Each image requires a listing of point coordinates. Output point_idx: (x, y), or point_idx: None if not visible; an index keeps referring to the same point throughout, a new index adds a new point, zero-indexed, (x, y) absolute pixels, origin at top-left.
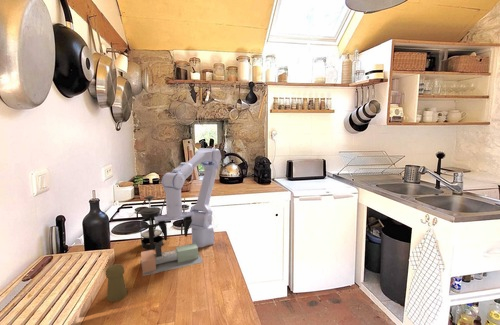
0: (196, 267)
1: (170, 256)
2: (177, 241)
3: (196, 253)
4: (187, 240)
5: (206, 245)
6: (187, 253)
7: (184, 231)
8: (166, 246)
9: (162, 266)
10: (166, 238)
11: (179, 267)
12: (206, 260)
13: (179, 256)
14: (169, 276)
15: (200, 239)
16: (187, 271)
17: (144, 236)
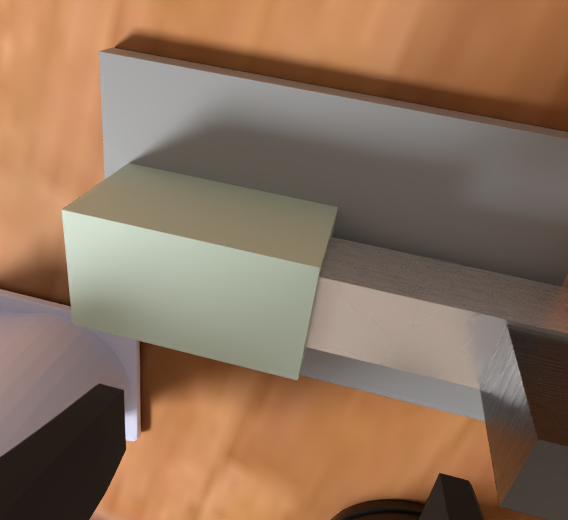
0: (194, 32)
1: (403, 280)
2: (216, 508)
3: (119, 186)
4: (146, 478)
5: (16, 318)
6: (210, 218)
7: (90, 494)
8: (313, 502)
9: (507, 233)
10: (452, 502)
11: (364, 101)
12: (70, 104)
13: (309, 231)
14: (519, 30)
15: (18, 375)
16: (305, 10)
17: None
